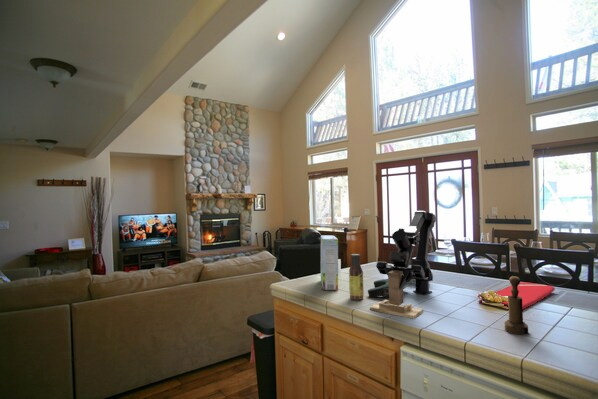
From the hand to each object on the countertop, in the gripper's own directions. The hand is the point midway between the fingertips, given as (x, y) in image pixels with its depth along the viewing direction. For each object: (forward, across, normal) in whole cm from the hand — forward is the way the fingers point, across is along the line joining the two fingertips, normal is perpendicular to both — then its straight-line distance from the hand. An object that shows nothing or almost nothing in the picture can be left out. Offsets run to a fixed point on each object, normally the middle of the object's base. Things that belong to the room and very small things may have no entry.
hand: (394, 287), depth 131 cm
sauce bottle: (+2, -21, +12) cm, 24 cm away
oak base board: (+6, 0, +7) cm, 9 cm away
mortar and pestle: (+4, +40, +9) cm, 41 cm away
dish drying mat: (-26, +37, +41) cm, 61 cm away
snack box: (-8, -44, +22) cm, 50 cm away
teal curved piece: (-9, -20, +21) cm, 30 cm away
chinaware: (-30, -10, +44) cm, 54 cm away
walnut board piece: (+4, 0, +6) cm, 7 cm away
